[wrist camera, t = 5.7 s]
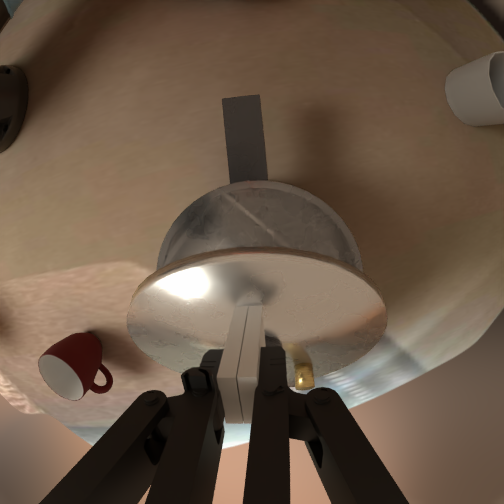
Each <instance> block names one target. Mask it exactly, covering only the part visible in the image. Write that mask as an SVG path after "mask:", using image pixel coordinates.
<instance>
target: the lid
mask: <svg viewBox="0 0 504 504" xmlns="http://www.w3.org/2000/svg"><path fill="white" fill-rule="evenodd" d="M260 305H262V310H263V321H264V333H265V344H266V347H272V346H281V347H282V348H283V349H284V350H285V351H286V370H287V384H288V387H295V388H296V389H297V390H309V389H312V388H314V387H315V385H314V378H316V377H320V376H323V375H326V374H329V373H332V372H334V371H337V370H339V369H341V368H344V367H346V366H348V365H350V364H351V363H353V362H355V361H357V360H358V359H360V358H361V357H363V356H364V355H365V354H367V353H368V352H369V351H370V350H371V349H372V348H373V347H374V346H375V345H376V344H377V343H378V342H379V340H380V339H381V337H382V336H383V334H384V332H385V329H386V326H387V311H386V307H385V303H384V300H383V297H382V295H381V292H380V290H379V288H378V287H377V286H376V284H375V283H374V282H373V281H372V279H370V278H369V277H368V276H367V275H366V274H364V273H363V272H362V271H360V270H359V269H357V268H355V267H353V266H352V265H350V264H348V263H346V262H343V261H341V260H338V259H336V258H333V257H331V256H327V255H323V254H319V253H316V252H312V251H306V250H300V249H294V248H286V247H269V246H253V247H235V248H227V249H219V250H213V251H208V252H204V253H199V254H195V255H192V256H189V257H186V258H183V259H180V260H177V261H174V262H172V263H170V264H168V265H166V266H164V267H162V268H160V269H158V270H157V271H156V272H154V273H153V274H151V275H150V276H148V277H147V278H146V279H145V280H144V281H143V282H142V283H141V284H140V285H139V286H138V288H137V289H136V291H135V293H134V294H133V296H132V300H131V303H130V306H129V310H128V314H127V327H128V331H129V334H130V336H131V338H132V340H133V341H134V342H135V344H136V345H137V346H138V347H139V348H140V349H141V350H142V351H143V352H144V353H145V354H146V355H147V356H149V357H150V358H152V359H153V360H155V361H156V362H158V363H160V364H161V365H163V366H165V367H167V368H169V369H171V370H174V371H176V372H179V373H181V374H182V373H183V372H184V371H186V370H187V369H190V368H193V367H200V363H201V361H202V358H203V355H204V354H205V353H206V352H207V351H208V350H209V349H224V347H225V343H226V339H227V335H228V332H229V328H230V324H231V320H232V316H233V312H234V309H235V307H241V306H248V308H249V306H260Z"/></svg>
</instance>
